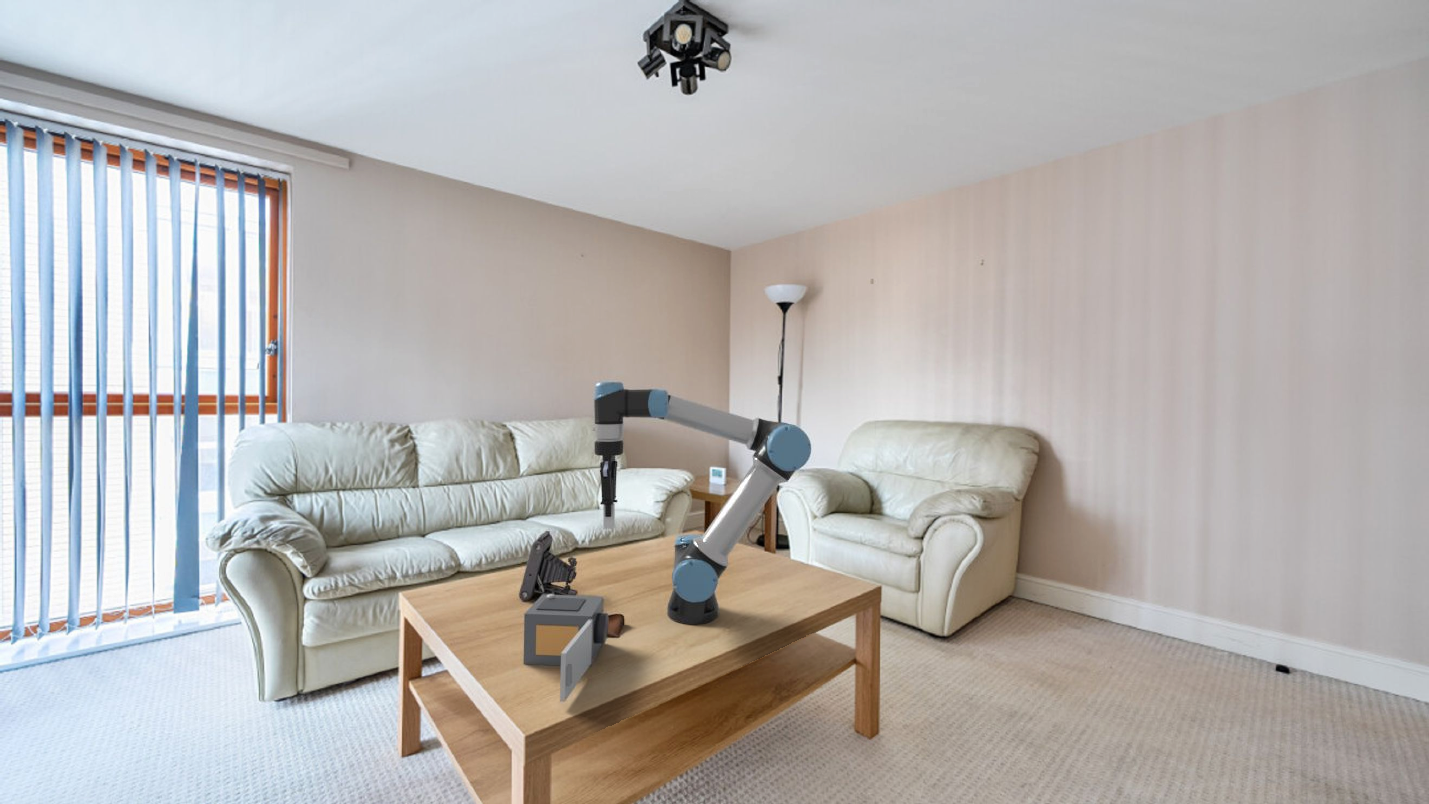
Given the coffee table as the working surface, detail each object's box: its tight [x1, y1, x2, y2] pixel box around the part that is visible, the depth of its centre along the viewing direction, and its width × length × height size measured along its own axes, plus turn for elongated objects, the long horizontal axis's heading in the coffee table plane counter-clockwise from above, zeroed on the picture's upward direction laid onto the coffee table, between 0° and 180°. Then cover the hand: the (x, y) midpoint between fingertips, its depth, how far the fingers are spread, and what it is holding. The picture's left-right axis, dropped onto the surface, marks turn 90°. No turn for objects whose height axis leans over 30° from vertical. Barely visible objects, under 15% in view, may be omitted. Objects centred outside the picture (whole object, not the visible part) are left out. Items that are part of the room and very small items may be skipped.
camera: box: [518, 530, 578, 602], centre depth 168 cm, size 11×17×20 cm, turn 89°
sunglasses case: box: [607, 613, 626, 638], centre depth 144 cm, size 18×7×7 cm
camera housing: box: [523, 593, 609, 668], centre depth 131 cm, size 18×12×13 cm
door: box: [559, 619, 593, 703], centre depth 116 cm, size 17×2×10 cm, turn 173°
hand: (609, 527), depth 142 cm, fingers closed
